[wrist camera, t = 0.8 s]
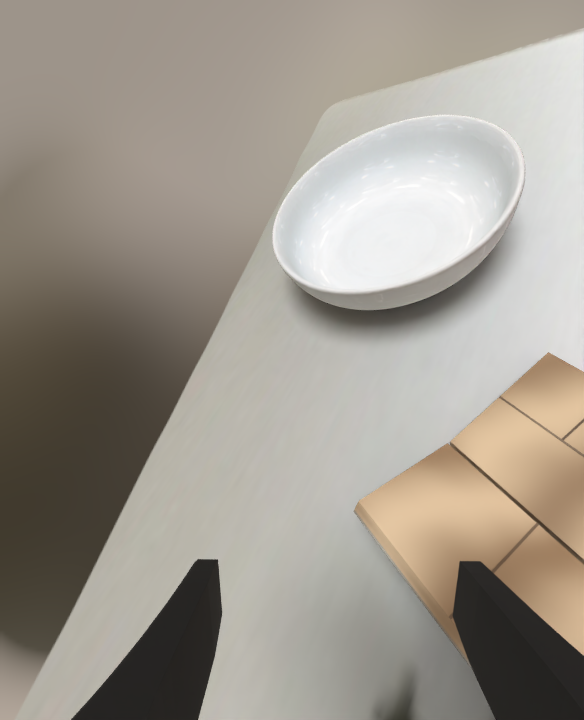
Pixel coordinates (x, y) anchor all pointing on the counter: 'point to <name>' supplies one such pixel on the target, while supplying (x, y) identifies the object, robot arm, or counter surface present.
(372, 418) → the counter surface
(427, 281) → the serving bowl
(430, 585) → the click plank
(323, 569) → the counter surface
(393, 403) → the counter surface
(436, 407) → the counter surface
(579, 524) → the laid floor boards
